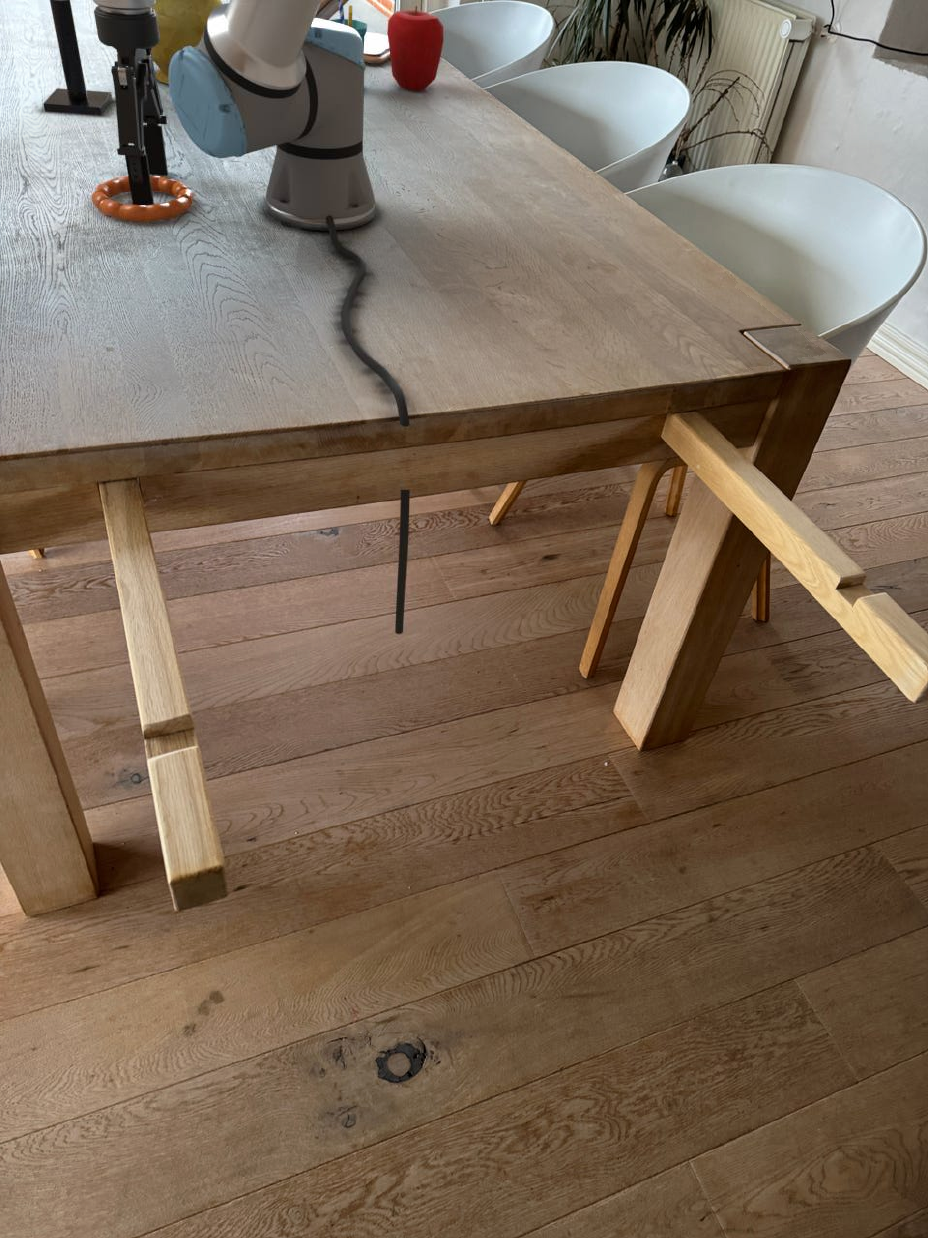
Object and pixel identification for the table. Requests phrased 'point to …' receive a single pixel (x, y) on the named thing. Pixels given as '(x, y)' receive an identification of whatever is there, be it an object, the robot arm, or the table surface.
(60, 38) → the peg stand
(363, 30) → the cup
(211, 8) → the pitcher
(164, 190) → the ring
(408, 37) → the apple
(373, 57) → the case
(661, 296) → the table surface
